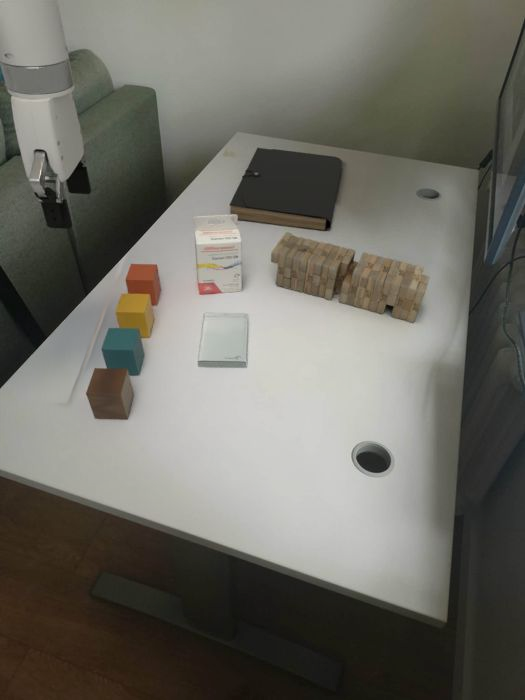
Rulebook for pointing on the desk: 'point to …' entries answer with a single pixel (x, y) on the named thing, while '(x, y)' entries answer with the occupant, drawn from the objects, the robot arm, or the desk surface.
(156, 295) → the terracotta block
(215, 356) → the hard drive
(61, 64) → the robot arm
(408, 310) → the block tower
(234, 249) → the ink cartridge box
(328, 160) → the black book
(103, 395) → the walnut block
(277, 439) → the desk surface
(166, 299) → the desk surface
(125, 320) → the yellow block
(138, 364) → the teal block
